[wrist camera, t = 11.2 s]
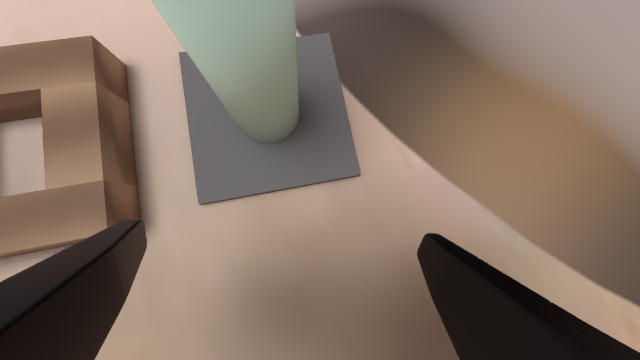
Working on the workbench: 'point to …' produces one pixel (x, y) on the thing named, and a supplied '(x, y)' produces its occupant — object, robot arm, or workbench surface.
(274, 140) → the pin
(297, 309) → the workbench surface
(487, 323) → the robot arm
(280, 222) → the workbench surface
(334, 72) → the mat
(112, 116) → the socket block
